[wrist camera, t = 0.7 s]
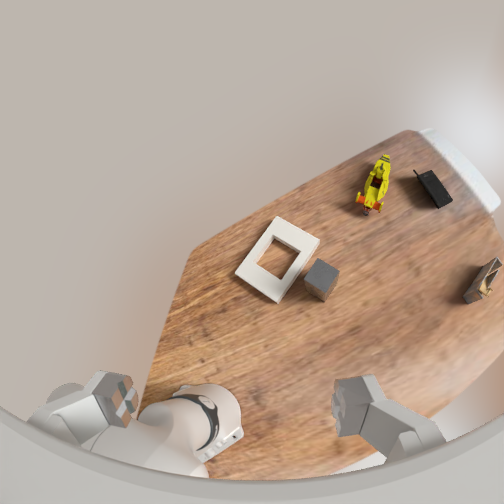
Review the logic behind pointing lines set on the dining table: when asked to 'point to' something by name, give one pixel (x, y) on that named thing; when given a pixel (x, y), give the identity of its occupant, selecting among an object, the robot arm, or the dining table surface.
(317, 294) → the grey metal block
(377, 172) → the toy boat
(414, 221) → the dining table surface
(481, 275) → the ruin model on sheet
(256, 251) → the white rectangular frame
